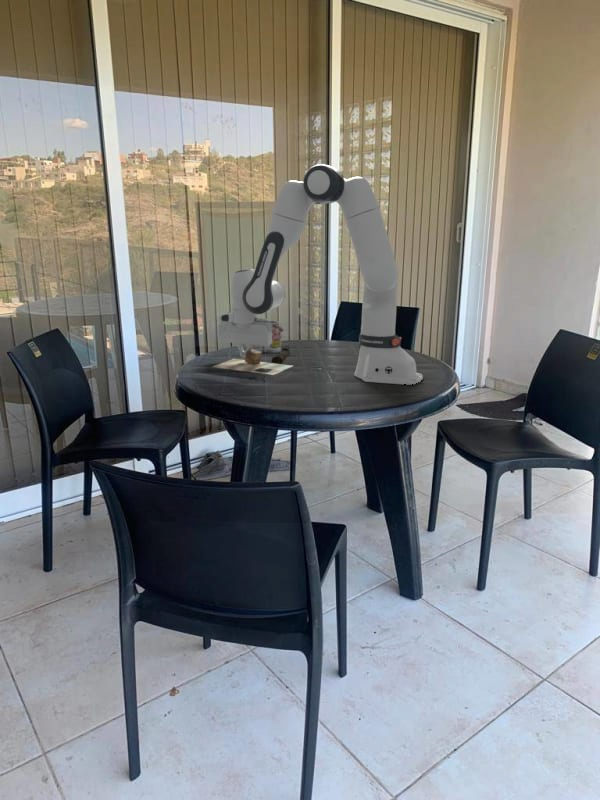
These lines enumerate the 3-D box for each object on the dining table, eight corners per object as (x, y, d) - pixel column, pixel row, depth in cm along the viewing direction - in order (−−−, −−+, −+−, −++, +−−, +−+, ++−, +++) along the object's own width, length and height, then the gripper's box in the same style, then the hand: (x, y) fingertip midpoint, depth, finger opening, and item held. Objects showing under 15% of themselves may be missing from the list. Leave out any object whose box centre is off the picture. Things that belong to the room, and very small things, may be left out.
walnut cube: (260, 362, 203) (261, 352, 202) (254, 365, 199) (256, 354, 198) (250, 359, 204) (252, 348, 203) (244, 361, 201) (246, 350, 199)
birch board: (293, 369, 200) (293, 365, 199) (273, 379, 187) (273, 374, 186) (233, 362, 209) (233, 358, 209) (211, 371, 196) (211, 366, 196)
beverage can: (273, 348, 235) (273, 319, 232) (287, 352, 229) (287, 322, 226) (255, 351, 229) (255, 321, 226) (269, 355, 223) (269, 324, 220)
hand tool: (282, 367, 204) (282, 354, 203) (271, 366, 205) (271, 354, 204) (295, 357, 222) (295, 345, 220) (285, 356, 223) (285, 344, 221)
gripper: (275, 318, 197) (275, 357, 201) (224, 313, 205) (225, 351, 209) (267, 320, 192) (266, 361, 196) (214, 315, 200) (215, 354, 204)
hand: (244, 356), depth 203 cm, fingers closed
